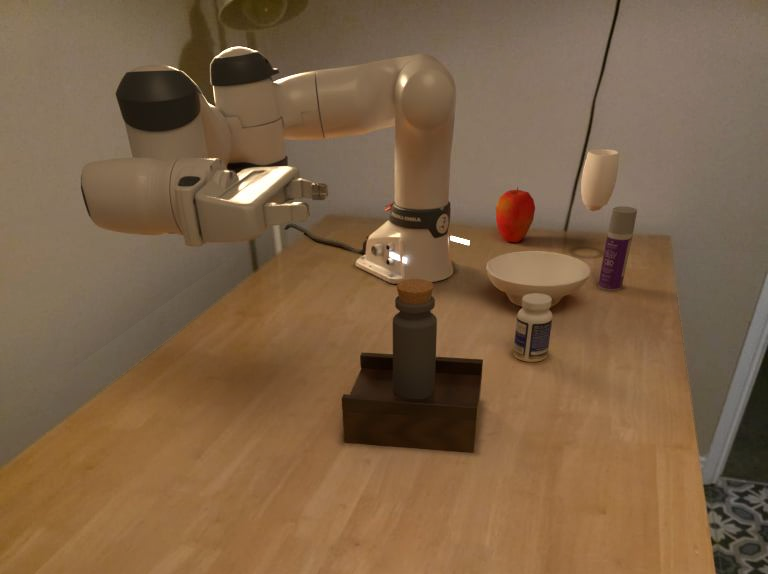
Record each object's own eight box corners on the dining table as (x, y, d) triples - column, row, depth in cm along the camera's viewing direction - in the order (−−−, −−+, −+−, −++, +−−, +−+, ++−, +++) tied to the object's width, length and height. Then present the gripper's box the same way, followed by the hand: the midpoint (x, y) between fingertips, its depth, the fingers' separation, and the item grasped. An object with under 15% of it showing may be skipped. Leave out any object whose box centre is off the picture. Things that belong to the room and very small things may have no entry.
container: (596, 289, 135) (610, 211, 126) (599, 282, 139) (613, 205, 129) (620, 292, 134) (636, 213, 125) (622, 284, 137) (639, 207, 128)
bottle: (431, 402, 91) (434, 294, 82) (389, 399, 92) (388, 292, 83) (437, 382, 95) (441, 278, 86) (397, 379, 96) (396, 275, 87)
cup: (577, 245, 157) (593, 147, 144) (607, 251, 154) (626, 150, 141) (565, 254, 153) (580, 153, 140) (595, 259, 150) (613, 157, 137)
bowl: (522, 277, 142) (526, 244, 137) (603, 301, 131) (610, 266, 126) (463, 303, 131) (465, 268, 127) (546, 331, 120) (551, 294, 116)
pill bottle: (549, 350, 114) (557, 293, 108) (544, 365, 110) (552, 306, 104) (516, 346, 116) (522, 289, 109) (509, 360, 111) (516, 302, 105)
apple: (489, 236, 165) (493, 183, 157) (525, 234, 165) (530, 181, 158) (498, 247, 157) (503, 193, 150) (535, 245, 158) (542, 191, 150)
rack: (344, 442, 93) (341, 398, 88) (363, 393, 104) (361, 352, 99) (473, 452, 90) (477, 407, 86) (479, 401, 101) (483, 359, 97)
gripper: (240, 203, 92) (338, 206, 90) (181, 251, 76) (298, 255, 74) (233, 152, 88) (335, 154, 86) (169, 191, 72) (292, 194, 70)
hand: (318, 201), depth 80 cm, fingers open, 8 cm apart
